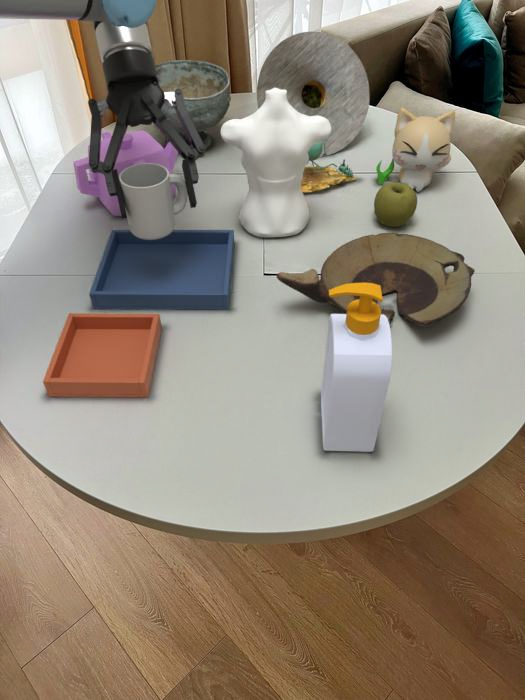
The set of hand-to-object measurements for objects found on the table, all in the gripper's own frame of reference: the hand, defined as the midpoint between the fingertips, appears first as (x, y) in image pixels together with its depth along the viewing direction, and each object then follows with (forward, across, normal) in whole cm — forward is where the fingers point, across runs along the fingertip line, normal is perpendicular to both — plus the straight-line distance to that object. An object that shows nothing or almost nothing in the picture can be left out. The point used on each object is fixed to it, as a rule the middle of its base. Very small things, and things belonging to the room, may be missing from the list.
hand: (159, 211), depth 83 cm
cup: (+1, 0, -6) cm, 6 cm away
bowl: (-25, -13, -45) cm, 53 cm away
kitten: (-3, -53, -23) cm, 58 cm away
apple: (+6, -43, -15) cm, 46 cm away
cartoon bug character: (-7, -34, -27) cm, 44 cm away
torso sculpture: (+2, -22, -19) cm, 29 cm away
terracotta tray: (+20, +12, 0) cm, 23 cm away
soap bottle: (+35, -17, +14) cm, 41 cm away
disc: (-21, -40, -42) cm, 61 cm away
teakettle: (-12, +2, -32) cm, 34 cm away
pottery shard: (+18, -31, -2) cm, 36 cm away
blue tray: (+8, 0, -12) cm, 15 cm away
